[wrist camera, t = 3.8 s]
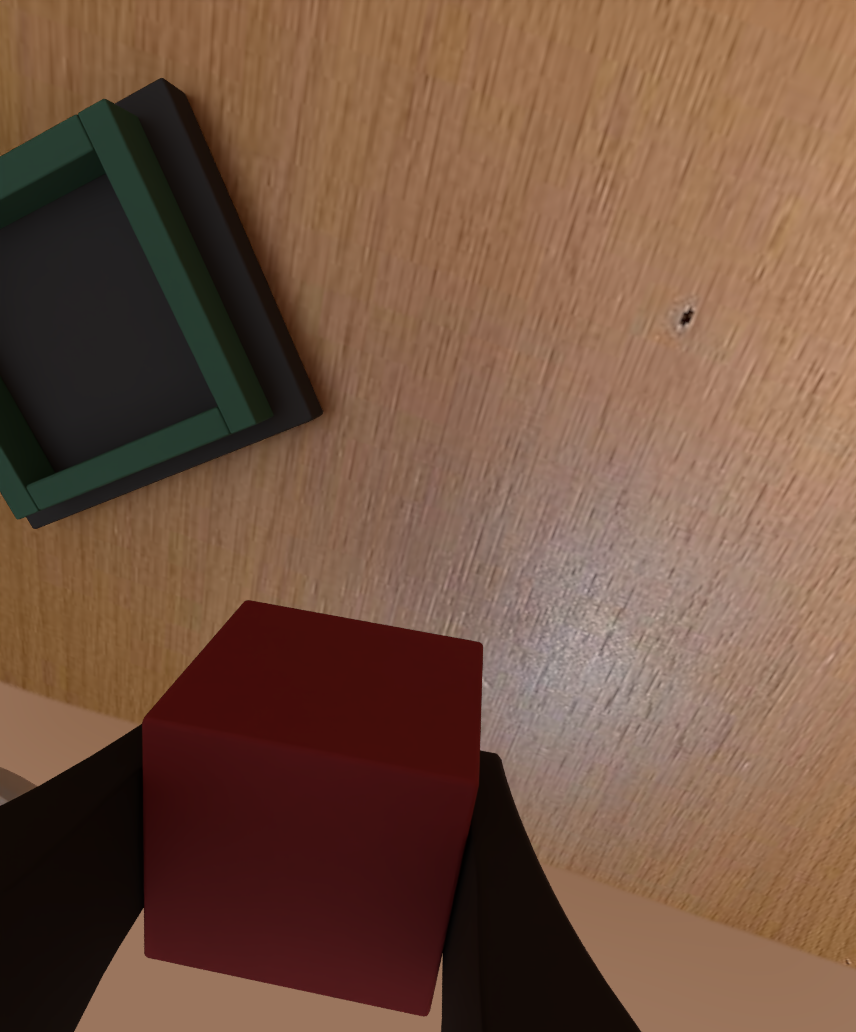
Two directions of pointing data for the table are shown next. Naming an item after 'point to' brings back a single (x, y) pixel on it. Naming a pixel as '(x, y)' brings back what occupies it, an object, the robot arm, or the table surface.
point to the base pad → (130, 311)
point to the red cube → (312, 804)
